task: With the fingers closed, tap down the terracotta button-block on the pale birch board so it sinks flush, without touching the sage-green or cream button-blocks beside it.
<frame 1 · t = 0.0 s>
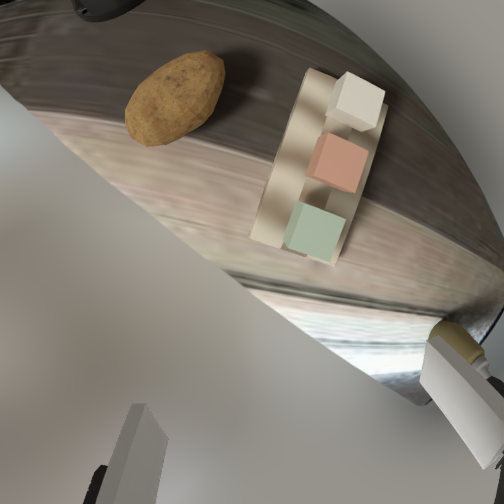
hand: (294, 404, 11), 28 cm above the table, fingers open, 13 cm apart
potato: (183, 105, 33), on the table
squeeze bottle: (438, 332, 44), on the table
block sage: (310, 228, 32), point 5 cm above the table, slide at 0.0 cm
board: (320, 165, 35), on the table
block cream: (351, 104, 28), point 5 cm above the table, slide at 0.0 cm
block terracotta: (333, 163, 30), point 5 cm above the table, slide at 0.0 cm
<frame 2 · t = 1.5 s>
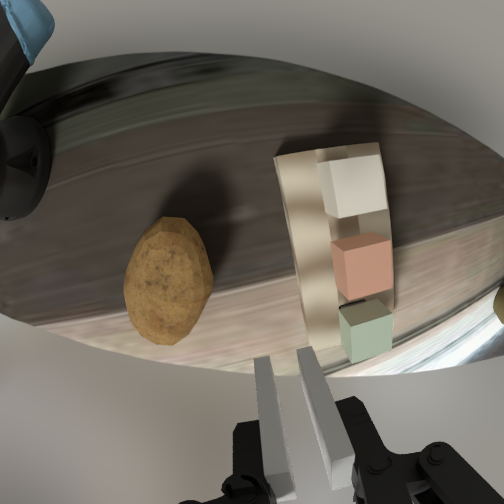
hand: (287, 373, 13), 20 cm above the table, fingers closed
potato: (175, 267, 33), on the table
squeeze bottle: (500, 298, 37), on the table
block sage: (362, 325, 30), point 5 cm above the table, slide at 0.0 cm
board: (340, 248, 33), on the table
block cream: (347, 184, 26), point 5 cm above the table, slide at 0.0 cm
block terracotta: (357, 261, 28), point 5 cm above the table, slide at 0.0 cm
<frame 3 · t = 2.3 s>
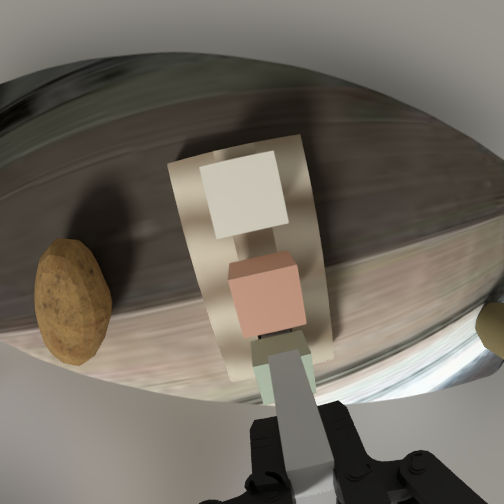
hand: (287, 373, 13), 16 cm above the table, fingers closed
potato: (88, 286, 28), on the table
squeeze bottle: (484, 316, 33), on the table
block sage: (281, 361, 25), point 5 cm above the table, slide at 0.0 cm
board: (260, 267, 28), on the table
block cream: (243, 192, 21), point 5 cm above the table, slide at 0.0 cm
block terracotta: (265, 287, 23), point 5 cm above the table, slide at 0.0 cm
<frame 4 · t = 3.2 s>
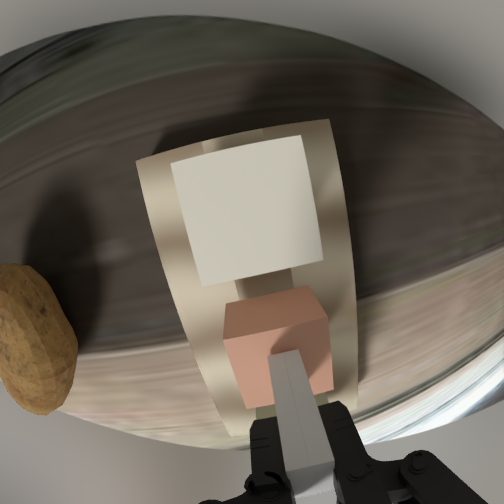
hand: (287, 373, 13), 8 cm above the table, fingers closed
potato: (52, 317, 20), on the table
block sage: (295, 424, 18), point 5 cm above the table, slide at 0.0 cm
board: (268, 304, 21), on the table
block cream: (247, 204, 13), point 5 cm above the table, slide at 0.0 cm
block terracotta: (276, 337, 16), point 5 cm above the table, slide at 0.6 cm, touching gripper
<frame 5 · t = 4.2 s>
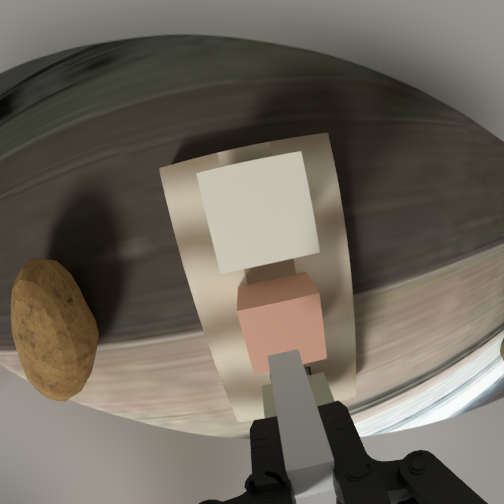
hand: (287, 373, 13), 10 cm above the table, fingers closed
potato: (73, 310, 23), on the table
block sage: (298, 406, 20), point 5 cm above the table, slide at 0.0 cm
board: (274, 296, 23), on the table
block cream: (257, 207, 16), point 5 cm above the table, slide at 0.0 cm
block terracotta: (279, 315, 20), point 3 cm above the table, slide at 1.9 cm
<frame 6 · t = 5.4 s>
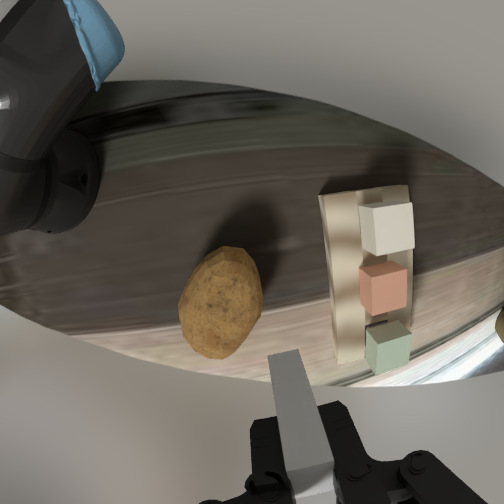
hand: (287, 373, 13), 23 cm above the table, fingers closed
potato: (224, 288, 37), on the table
squeeze bottle: (501, 319, 40), on the table
block sage: (384, 343, 33), point 5 cm above the table, slide at 0.0 cm
board: (369, 276, 36), on the table
block cream: (382, 224, 29), point 5 cm above the table, slide at 0.0 cm
block terracotta: (379, 284, 33), point 3 cm above the table, slide at 1.9 cm
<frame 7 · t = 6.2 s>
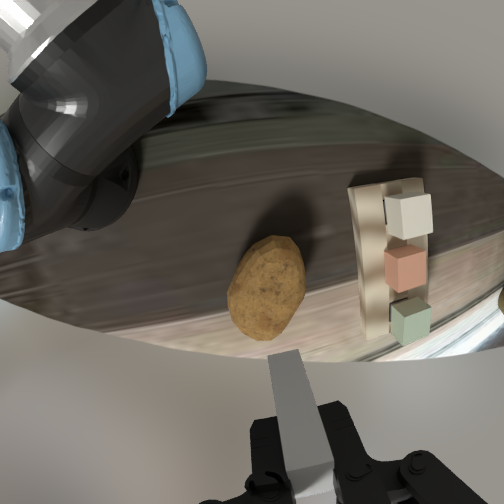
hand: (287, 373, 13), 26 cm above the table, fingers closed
potato: (264, 275, 40), on the table
squeeze bottle: (503, 296, 44), on the table
block sage: (407, 317, 37), point 5 cm above the table, slide at 0.0 cm
board: (390, 258, 40), on the table
block cream: (404, 213, 33), point 5 cm above the table, slide at 0.0 cm
block terracotta: (401, 265, 37), point 3 cm above the table, slide at 1.9 cm
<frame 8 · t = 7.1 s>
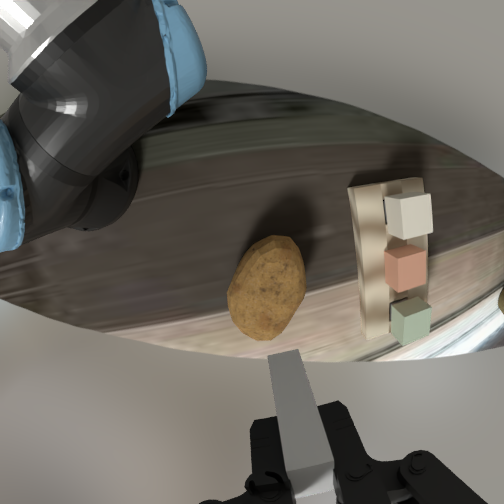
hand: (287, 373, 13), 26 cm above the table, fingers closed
potato: (264, 275, 40), on the table
squeeze bottle: (503, 296, 44), on the table
block sage: (407, 317, 37), point 5 cm above the table, slide at 0.0 cm
board: (390, 258, 40), on the table
block cream: (404, 213, 33), point 5 cm above the table, slide at 0.0 cm
block terracotta: (401, 265, 37), point 3 cm above the table, slide at 1.9 cm
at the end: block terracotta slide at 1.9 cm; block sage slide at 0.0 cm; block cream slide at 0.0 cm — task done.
